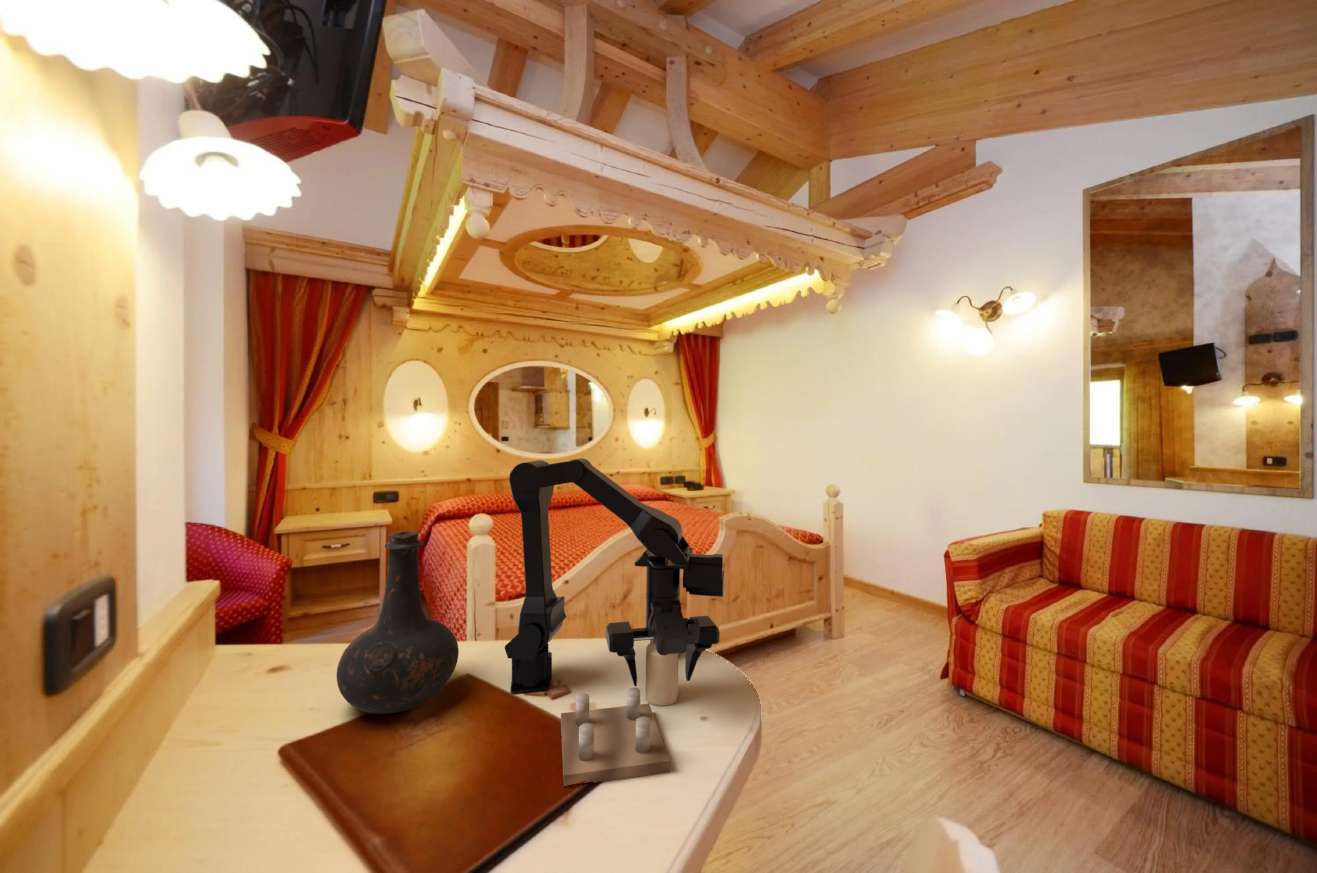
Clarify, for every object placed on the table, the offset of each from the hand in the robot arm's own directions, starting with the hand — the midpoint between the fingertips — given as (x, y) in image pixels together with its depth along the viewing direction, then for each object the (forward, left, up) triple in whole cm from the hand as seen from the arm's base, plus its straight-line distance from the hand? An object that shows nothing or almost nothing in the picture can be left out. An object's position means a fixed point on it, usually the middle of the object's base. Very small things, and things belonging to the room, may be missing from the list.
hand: (661, 682), depth 86 cm
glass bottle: (-43, +8, -3) cm, 44 cm away
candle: (0, 0, -3) cm, 3 cm away
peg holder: (-10, -11, -2) cm, 15 cm away
